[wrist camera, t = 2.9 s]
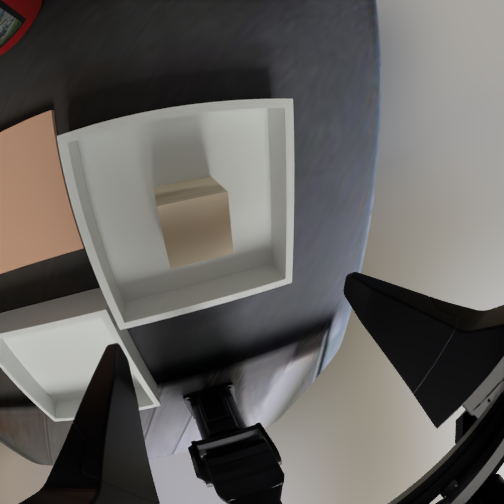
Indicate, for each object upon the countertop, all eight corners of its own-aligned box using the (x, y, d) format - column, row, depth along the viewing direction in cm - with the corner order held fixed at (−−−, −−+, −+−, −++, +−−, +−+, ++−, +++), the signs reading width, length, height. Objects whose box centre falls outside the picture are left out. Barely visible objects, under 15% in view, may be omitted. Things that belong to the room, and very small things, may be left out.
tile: (84, 244, 17) (83, 248, 17) (-9, 273, 14) (-12, 277, 14) (54, 109, 12) (51, 109, 12) (-46, 160, 9) (-50, 162, 9)
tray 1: (156, 384, 27) (161, 405, 24) (55, 401, 23) (54, 421, 20) (107, 285, 20) (106, 309, 17) (-13, 316, 15) (-22, 338, 13)
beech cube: (216, 227, 20) (233, 252, 17) (163, 240, 19) (170, 268, 16) (210, 175, 18) (227, 191, 15) (153, 187, 17) (156, 206, 14)
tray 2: (275, 264, 25) (291, 282, 23) (119, 305, 21) (120, 330, 18) (272, 99, 18) (292, 98, 15) (69, 132, 13) (56, 136, 11)
